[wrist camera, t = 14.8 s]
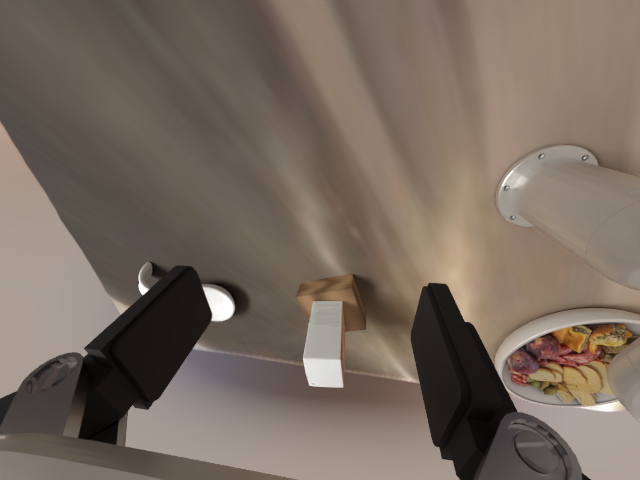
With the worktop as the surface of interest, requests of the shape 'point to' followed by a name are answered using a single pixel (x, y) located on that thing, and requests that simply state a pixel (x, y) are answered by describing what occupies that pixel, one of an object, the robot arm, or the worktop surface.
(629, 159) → the worktop surface
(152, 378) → the robot arm
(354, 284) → the tan block
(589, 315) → the bowl
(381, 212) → the worktop surface
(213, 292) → the spoon rest
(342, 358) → the small box
